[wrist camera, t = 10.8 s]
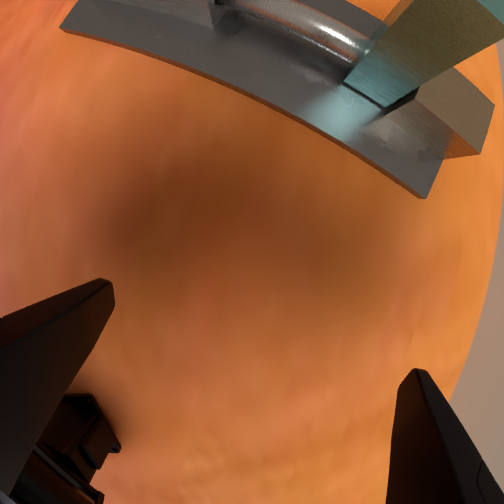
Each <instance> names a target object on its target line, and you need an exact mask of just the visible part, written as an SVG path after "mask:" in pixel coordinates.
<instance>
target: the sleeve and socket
mask: <svg viewBox="0 0 504 504" xmlns="http://www.w3.org/2000/svg"><path fill="white" fill-rule="evenodd" d="M295 1H298V2H300V3H302V4H304V5H307V6H309V7H311V8H313V9H315V10H317V11H319V12H322V13H324V14H326V15H328V16H330V17H332V18H334V19H335V20H337V21H339V22H341V23H343V24H345V25H347V26H349V27H350V28H352V29H354V30H356V31H357V32H359V33H361V34H363V35H364V36H366V37H368V38H370V37H371V36H372V34H373V33H374V32H375V31H376V29H377V28H378V27H379V26H380V24H381V23H382V22H383V21H381V20H379V19H378V18H376V17H374V16H372V15H371V14H369V13H367V12H366V11H364V10H362V9H360V8H358V7H357V6H355V5H353V4H351V3H349V2H347V1H345V0H295ZM59 28H60V29H61V30H63V31H64V32H66V33H70V34H75V35H79V36H83V37H87V38H91V39H94V40H98V41H102V42H105V43H109V44H112V45H116V46H119V47H122V48H125V49H129V50H132V51H135V52H138V53H141V54H144V55H147V56H150V57H153V58H156V59H158V60H161V61H164V62H167V63H169V64H172V65H175V66H177V67H180V68H183V69H185V70H188V71H190V72H193V73H195V74H198V75H200V76H203V77H205V78H207V79H210V80H212V81H215V82H217V83H219V84H221V85H224V86H226V87H228V88H230V89H233V90H235V91H237V92H239V93H241V94H243V95H246V96H248V97H250V98H252V99H254V100H256V101H258V102H260V103H262V104H264V105H266V106H268V107H270V108H272V109H274V110H276V111H278V112H280V113H282V114H284V115H286V116H288V117H290V118H291V119H293V120H295V121H297V122H299V123H301V124H303V125H304V126H306V127H308V128H310V129H312V130H313V131H315V132H317V133H319V134H320V135H322V136H324V137H326V138H327V139H329V140H331V141H332V142H334V143H336V144H337V145H339V146H341V147H342V148H344V149H346V150H347V151H349V152H350V153H352V154H354V155H355V156H357V157H358V158H360V159H362V160H363V161H365V162H366V163H368V164H369V165H371V166H372V167H374V168H375V169H377V170H378V171H380V172H381V173H383V174H384V175H386V176H387V177H389V178H390V179H392V180H393V181H395V182H396V183H398V184H399V185H400V186H402V187H403V188H405V189H406V190H407V191H409V192H410V193H412V194H413V195H414V196H416V197H417V198H418V199H426V198H427V196H428V193H429V191H430V189H431V187H432V184H433V182H434V180H435V178H436V175H437V173H438V171H439V168H440V166H441V163H442V161H443V160H444V159H451V158H458V157H465V156H472V155H479V154H480V153H481V150H482V147H483V144H484V141H485V138H486V135H487V131H488V128H489V125H490V121H491V118H492V114H493V110H494V106H495V105H494V104H493V103H492V102H491V101H490V100H489V99H488V98H487V97H486V96H485V95H484V94H483V93H482V92H481V91H480V90H479V89H478V88H477V87H476V86H475V85H473V84H472V83H471V82H470V81H469V80H468V79H467V78H466V77H465V76H463V75H462V74H461V73H460V72H459V71H458V70H456V69H455V68H454V67H451V68H450V69H448V70H446V71H444V72H443V73H441V74H439V75H438V76H436V77H434V78H433V79H431V80H429V81H428V82H426V83H424V84H422V85H421V86H419V87H418V88H416V89H415V90H414V93H413V94H412V95H410V96H408V97H407V98H405V99H404V98H403V97H401V98H400V99H398V100H396V101H395V102H393V103H391V104H390V105H388V106H387V107H384V106H382V105H381V104H379V103H378V102H376V101H374V100H373V99H371V98H370V97H368V96H367V95H365V94H364V93H362V92H360V91H359V90H357V89H355V88H354V87H352V86H350V85H349V84H347V83H345V82H344V80H345V78H346V76H347V74H348V72H349V70H350V69H351V67H352V64H350V63H349V62H347V61H345V60H344V59H342V58H340V57H338V56H336V55H335V54H333V53H331V52H329V51H327V50H325V49H323V48H322V47H320V46H318V45H316V44H314V43H312V42H310V41H308V40H306V39H304V38H302V37H300V36H297V35H295V34H293V33H291V32H289V31H287V30H284V29H282V28H280V27H278V26H275V25H273V24H271V23H268V22H266V21H263V20H261V19H258V18H256V17H253V16H251V15H248V14H245V13H243V12H240V11H237V10H235V9H232V8H229V7H226V6H223V5H220V4H217V3H214V0H78V2H77V3H76V4H75V6H74V7H73V8H72V10H71V11H70V12H69V14H68V15H67V17H66V18H65V19H64V21H63V22H62V24H61V25H60V27H59Z"/></svg>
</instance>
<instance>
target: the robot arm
mask: <svg viewBox="0 0 504 504" xmlns="http://www.w3.org/2000/svg"><path fill="white" fill-rule="evenodd" d="M114 307H115V297H114V290H113V284H112V282H110V281H108V280H105V279H103V278H98V279H95V280H92V281H90V282H87V283H85V284H82V285H80V286H77V287H75V288H72V289H70V290H67V291H65V292H62V293H60V294H57V295H55V296H52V297H50V298H47V299H45V300H42V301H40V302H37V303H35V304H32V305H30V306H27V307H25V308H23V309H20V310H18V311H15V312H13V313H11V314H8V315H6V316H3V317H2V318H0V504H103V502H104V496H105V495H104V494H103V493H101V492H100V491H97V490H96V489H95V488H93V487H92V486H91V485H90V482H91V480H92V478H93V476H94V474H95V472H96V470H97V469H98V470H100V468H101V467H102V465H103V463H104V461H105V459H106V457H107V455H108V453H119V452H120V450H121V447H120V445H119V443H118V442H117V440H116V438H115V436H114V435H113V433H112V431H111V429H110V427H109V426H108V424H107V422H106V420H105V418H104V416H103V414H102V412H101V411H100V409H99V407H98V405H97V403H96V401H95V399H94V397H93V396H92V395H90V394H65V392H66V391H67V389H68V387H69V386H70V384H71V383H72V381H73V379H74V378H75V376H76V375H77V373H78V371H79V370H80V368H81V367H82V365H83V364H84V362H85V360H86V359H87V357H88V356H89V354H90V353H91V351H92V349H93V348H94V346H95V344H96V342H97V340H98V338H99V336H100V335H101V333H102V331H103V329H104V327H105V325H106V323H107V321H108V319H109V317H110V315H111V314H112V312H113V310H114ZM88 399H89V400H90V401H89V400H88ZM386 504H504V493H503V492H502V490H501V489H500V487H499V485H498V484H497V482H496V481H495V479H494V477H493V476H492V474H491V472H490V471H489V469H488V467H487V466H486V464H485V462H484V460H483V459H482V457H481V455H480V453H479V452H478V450H477V448H476V447H475V445H474V444H473V442H472V440H471V438H470V437H469V435H468V433H467V432H466V430H465V429H464V427H463V425H462V424H461V422H460V421H459V419H458V417H457V416H456V414H455V413H454V411H453V410H452V408H451V406H450V405H449V403H448V402H447V400H446V399H445V397H444V396H443V394H442V393H441V391H440V390H439V388H438V387H437V385H436V384H435V382H434V381H433V379H432V378H431V376H430V375H429V373H428V372H427V371H426V370H423V369H418V368H414V369H412V370H411V371H410V373H409V374H408V375H407V376H406V378H405V379H404V380H403V381H402V383H401V384H400V386H399V388H398V392H397V400H396V408H395V416H394V423H393V429H392V438H391V452H390V466H389V477H388V487H387V496H386Z"/></svg>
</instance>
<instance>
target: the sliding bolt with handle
mask: <svg viewBox="0 0 504 504" xmlns="http://www.w3.org/2000/svg"><path fill="white" fill-rule="evenodd" d="M214 3H217V4H220V5H223V6H226V7H229V8H232V9H235V10H237V11H240V12H243V13H245V14H248V15H251V16H253V17H256V18H258V19H261V20H263V21H266V22H268V23H271V24H273V25H275V26H278V27H280V28H282V29H284V30H287V31H289V32H291V33H293V34H295V35H297V36H300V37H302V38H304V39H306V40H308V41H310V42H312V43H314V44H316V45H318V46H320V47H322V48H323V49H325V50H327V51H329V52H331V53H333V54H335V55H336V56H338V57H340V58H342V59H344V60H345V61H347V62H349V63H350V64H352V67H351V69H350V70H349V72H348V74H347V76H346V78H345V80H344V82H345V83H347V84H349V85H350V86H352V87H354V88H355V89H357V90H359V91H360V92H362V93H364V94H365V95H367V96H368V97H370V98H371V99H373V100H374V101H376V102H378V103H379V104H381V105H382V106H384V107H387V106H388V105H390V104H391V103H393V102H395V101H396V100H398V99H400V98H401V97H403V98H404V99H405V98H407V97H408V96H410V95H412V94H413V93H414V90H415V89H416V88H418V87H419V86H421V85H422V84H424V83H426V82H428V81H429V80H431V79H433V78H434V77H436V76H438V75H439V74H441V73H443V72H444V71H446V70H448V69H450V68H451V67H453V66H455V65H456V64H458V63H460V62H462V61H463V60H465V59H467V58H469V57H471V56H472V55H474V54H476V53H478V52H479V51H481V50H483V49H485V48H487V47H489V46H490V45H492V44H494V43H496V42H498V41H499V40H501V39H503V38H504V0H400V1H399V2H398V3H397V5H396V6H395V7H394V8H393V9H392V11H391V12H390V13H389V14H388V16H387V17H386V18H385V19H384V21H383V22H382V23H381V24H380V26H379V27H378V28H377V29H376V31H375V32H374V33H373V34H372V36H371V37H370V38H368V37H366V36H364V35H363V34H361V33H359V32H357V31H356V30H354V29H352V28H350V27H349V26H347V25H345V24H343V23H341V22H339V21H337V20H335V19H334V18H332V17H330V16H328V15H326V14H324V13H322V12H319V11H317V10H315V9H313V8H311V7H309V6H307V5H304V4H302V3H300V2H298V1H295V0H214Z"/></svg>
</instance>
